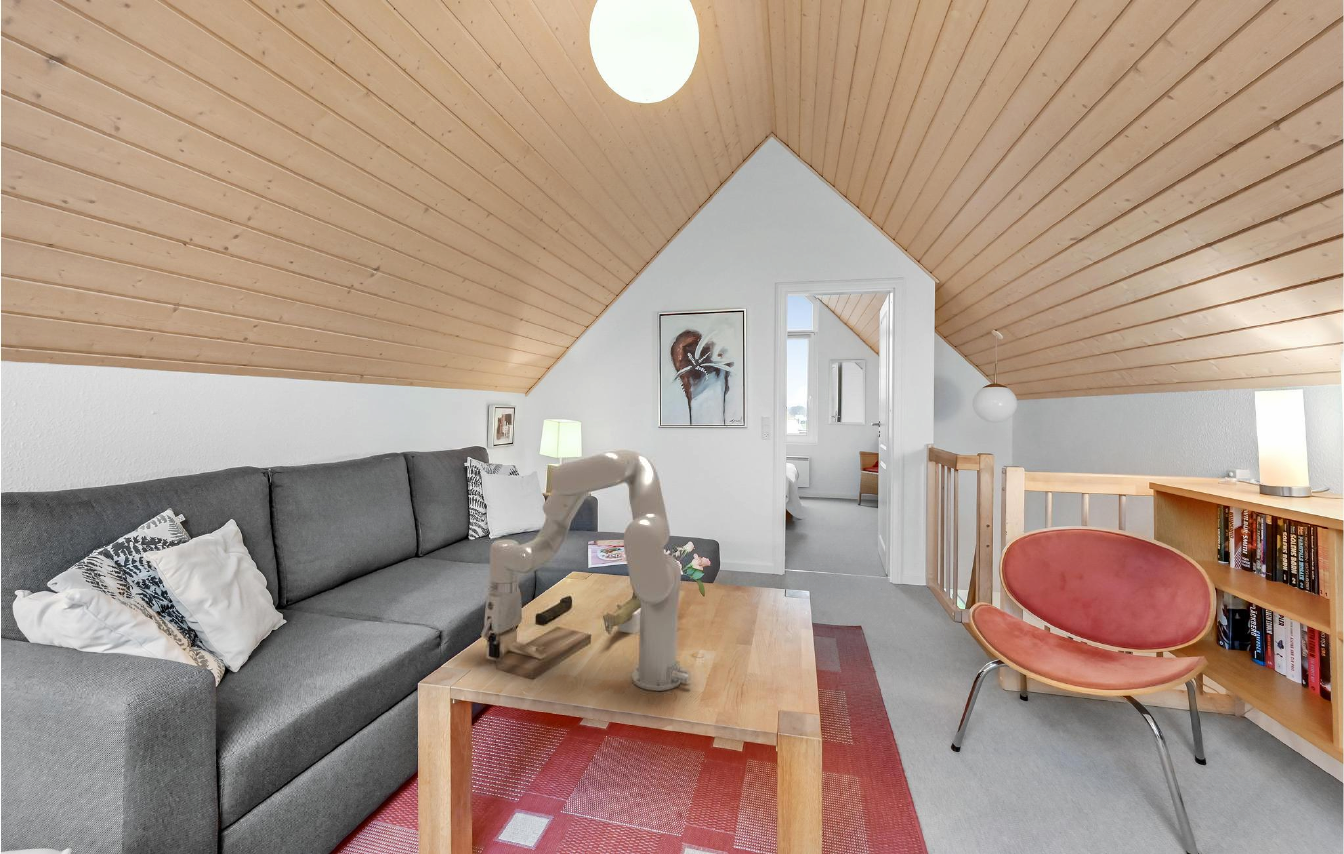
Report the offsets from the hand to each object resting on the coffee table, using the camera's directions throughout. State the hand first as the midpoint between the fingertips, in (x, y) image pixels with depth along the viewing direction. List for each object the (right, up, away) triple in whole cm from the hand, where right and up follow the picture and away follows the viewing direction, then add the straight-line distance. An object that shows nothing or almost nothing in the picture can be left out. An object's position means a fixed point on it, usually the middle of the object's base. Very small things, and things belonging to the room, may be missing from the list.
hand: (501, 652), depth 149 cm
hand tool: (+7, -2, +33) cm, 34 cm away
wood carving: (+32, -2, +21) cm, 39 cm away
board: (+12, -2, +2) cm, 12 cm away
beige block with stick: (+5, -2, -2) cm, 6 cm away
